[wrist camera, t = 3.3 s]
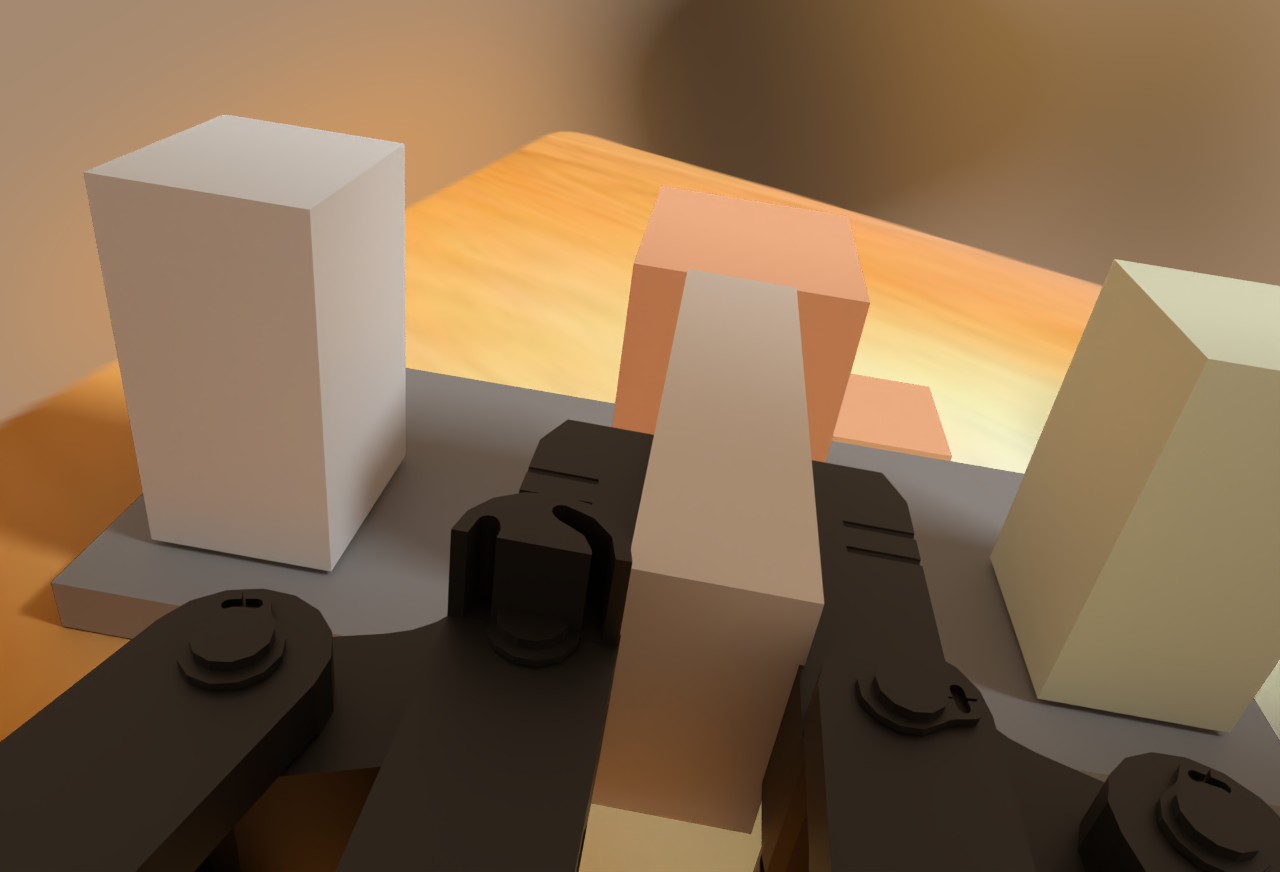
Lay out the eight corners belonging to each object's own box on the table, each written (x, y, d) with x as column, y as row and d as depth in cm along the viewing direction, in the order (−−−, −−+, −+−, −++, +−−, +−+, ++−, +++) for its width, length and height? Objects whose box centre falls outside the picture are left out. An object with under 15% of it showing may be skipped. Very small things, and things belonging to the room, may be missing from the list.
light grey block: (405, 454, 30) (404, 143, 25) (331, 571, 25) (309, 209, 20) (256, 428, 30) (223, 114, 25) (151, 539, 25) (83, 172, 20)
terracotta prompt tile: (925, 398, 42) (929, 387, 42) (947, 468, 37) (951, 456, 37) (795, 376, 42) (798, 364, 42) (799, 443, 37) (802, 430, 37)
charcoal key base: (1113, 524, 35) (1129, 491, 34) (1293, 852, 23) (1323, 814, 22) (295, 382, 36) (292, 348, 35) (62, 626, 24) (50, 582, 23)
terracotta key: (771, 518, 30) (848, 215, 24) (772, 651, 24) (869, 302, 19) (617, 491, 30) (661, 185, 24) (587, 617, 25) (633, 263, 19)
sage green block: (1147, 584, 29) (1307, 290, 24) (1229, 733, 24) (1455, 400, 19) (989, 556, 29) (1114, 259, 24) (1037, 698, 24) (1207, 358, 19)
